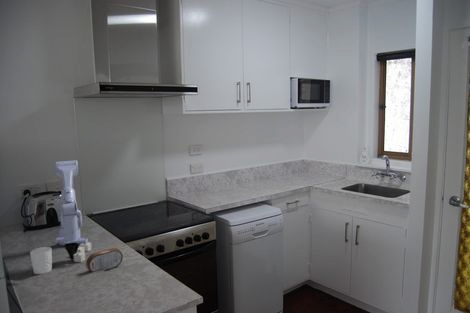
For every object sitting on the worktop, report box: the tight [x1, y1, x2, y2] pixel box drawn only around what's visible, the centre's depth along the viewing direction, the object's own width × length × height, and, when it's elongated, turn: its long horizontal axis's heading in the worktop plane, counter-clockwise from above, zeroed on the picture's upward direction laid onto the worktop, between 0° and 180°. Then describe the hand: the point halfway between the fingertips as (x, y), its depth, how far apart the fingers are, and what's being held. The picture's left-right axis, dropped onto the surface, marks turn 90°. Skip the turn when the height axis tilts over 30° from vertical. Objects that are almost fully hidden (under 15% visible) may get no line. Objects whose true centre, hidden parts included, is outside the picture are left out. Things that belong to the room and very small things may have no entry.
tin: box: [85, 247, 124, 273], centre depth 152 cm, size 15×3×8 cm, turn 131°
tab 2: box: [73, 251, 86, 263], centre depth 160 cm, size 4×3×4 cm
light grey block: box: [80, 241, 93, 252], centre depth 172 cm, size 4×3×4 cm
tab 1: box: [77, 245, 86, 252], centre depth 166 cm, size 4×3×4 cm
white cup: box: [29, 246, 53, 275], centre depth 150 cm, size 8×8×10 cm
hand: (73, 258), depth 160 cm, fingers closed
